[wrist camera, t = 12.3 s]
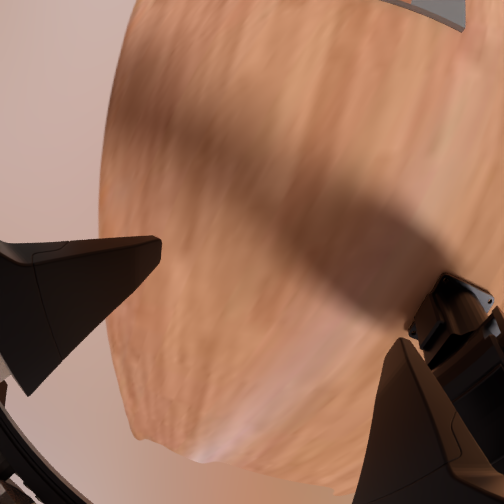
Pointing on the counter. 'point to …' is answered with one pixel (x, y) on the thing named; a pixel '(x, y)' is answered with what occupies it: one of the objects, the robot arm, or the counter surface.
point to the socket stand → (437, 10)
